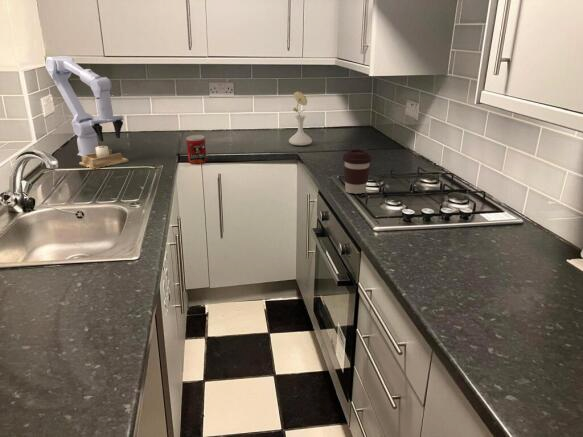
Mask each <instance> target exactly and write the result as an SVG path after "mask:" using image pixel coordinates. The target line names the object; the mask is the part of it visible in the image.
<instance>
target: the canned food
mask: <svg viewBox="0 0 583 437" xmlns="http://www.w3.org/2000/svg"><path fill="white" fill-rule="evenodd" d="M205 137H206V136H205V135H202V134H194V135H193V134H192V135H188V136H187V137H186V146H187V148H186V150H187V157H188V163H189V164H191V165H193V166H194V165H196V166H198V165H203V164H205V163H207V150H206V149H207V148H206V138H205Z"/></svg>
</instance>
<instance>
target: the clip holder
mask: <svg viewBox="0 0 583 437" xmlns="http://www.w3.org/2000/svg"><path fill="white" fill-rule="evenodd" d="M108 151H109V155H107V156H103V157H99V158H97V154H96V153H91V154H87V155H82V156H80V157H81V161H80V162H79V165H80V166H83V167H86V168H88V167H89V168H88V169H91V168H92V169H91V170H94V171H95V170H97V169H96V168H99V169H101V168H100V167H103V168H105V166H107V167H110V165H111V166H114V165H118V164H122V163H126V162H129V159H128V158H125V157H123V156H122V153H121V152H117V153H113V152H112V149H109V148H108Z"/></svg>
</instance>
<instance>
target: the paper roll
mask: <svg viewBox="0 0 583 437" xmlns="http://www.w3.org/2000/svg"><path fill="white" fill-rule="evenodd" d="M95 149H96V154H97V158H99V157H103V156H107V155H109V151H108V150H109V147H108V145H100V146H99V145H98V147H96V148H95Z"/></svg>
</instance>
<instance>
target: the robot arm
mask: <svg viewBox="0 0 583 437" xmlns="http://www.w3.org/2000/svg"><path fill="white" fill-rule="evenodd" d="M45 69H46V70H47V73H48V74H49V76H50V78H51V79H52V80H53V82H54V84H55V86H56V87H57V90H58V92H59V93H60V95H61V96H62V98H63V101H64V102H65V103H66V106H67V108H68V109H69V111H70V113H71V114H72V117H73V118H72V120H71V122H70V124H71V126H72V128H73V130H72V131H73V133H74V134H75V135H76V136H77V139H76V144H77V148H78V153H77V156H79V157H81V156H82V155H87V154H91V153H96V149H95V148H96V147H98V146H99V142H104V136H103V135H104V134H103V124H107V123H112V125H113V129H114V133H115V137H116V138H117V139H121V131H122V128H123V125H124V120H125V119H124V115H121V114H120V115H114V113H113V105H112V99H111V92H110V91H111V90H112V87H113V86H112V85H113V84H112V82H111V80H110V79H109V78H108V77H106V76H104V77H102V76H100V75H99V74H97V73H96V72H94V71H93V70H92V69H90V68H85V69H84V68H83V67H81V66H80V65H79V64H78V63H77V62H75V60H74V58H73V57H71V56H70V55H61V56H47V58H46V60H45ZM72 74H74V75H76V76H78V77H79V79H80V81H81V82H82V83H84V84H86V85H87V86H88V87H90V89H91V91H92V93H93V96H94V97H95V101H96V107H97V111H98V112H97V113H98V114H97V115H98V118H94V116H93V115H92V114H90V113H87V112H86V110H85V109H84V107H83V105H82V103H81V101H80V99H79V98H78V95H77V94H76V93H75V91H74V89H73V87H72V85H71V84H70V82H69V79H70V77H71V75H72ZM101 124H102V125H101ZM98 139H99V142H98Z"/></svg>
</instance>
